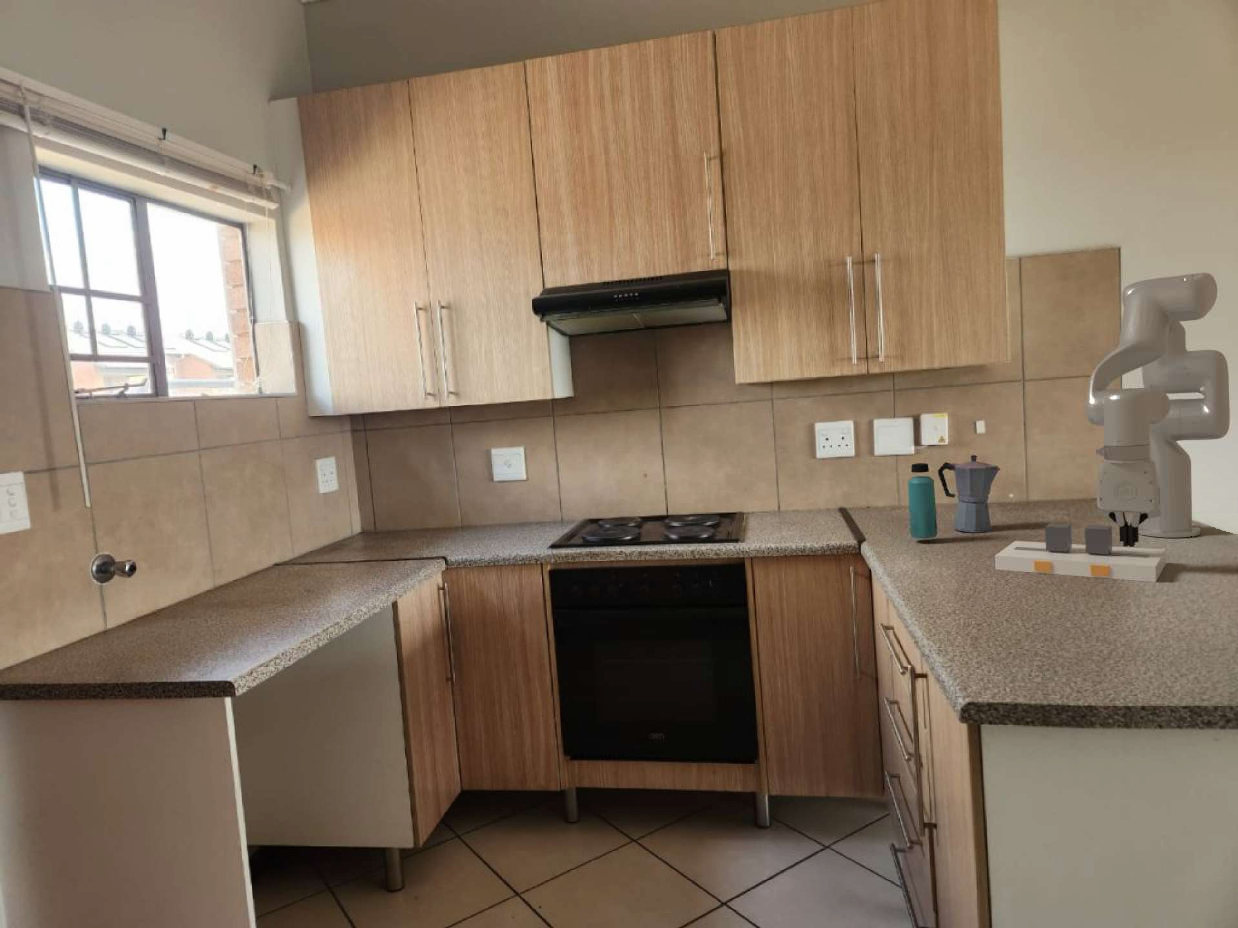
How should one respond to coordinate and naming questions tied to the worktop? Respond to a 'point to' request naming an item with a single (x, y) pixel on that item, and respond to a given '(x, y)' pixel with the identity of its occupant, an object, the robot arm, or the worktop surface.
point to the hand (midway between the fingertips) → (1129, 545)
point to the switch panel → (1083, 561)
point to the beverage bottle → (922, 504)
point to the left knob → (1058, 537)
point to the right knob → (1098, 539)
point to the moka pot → (971, 493)
